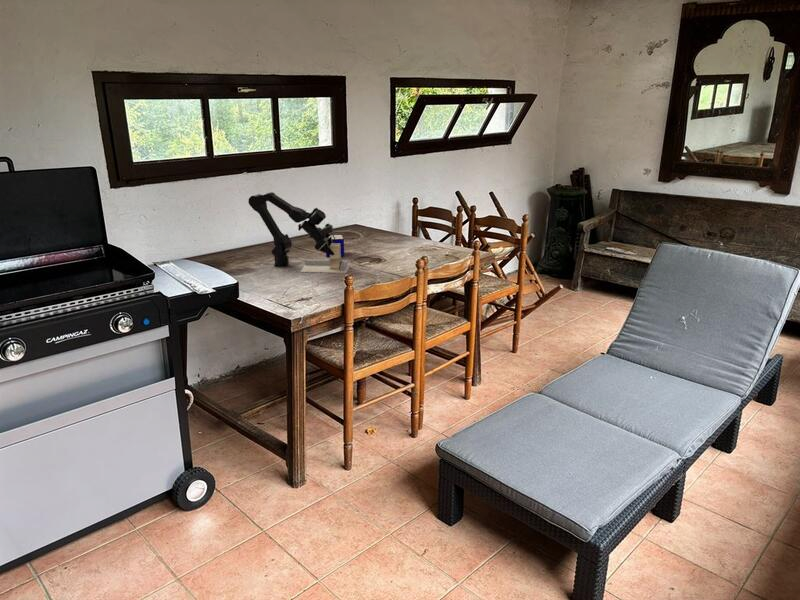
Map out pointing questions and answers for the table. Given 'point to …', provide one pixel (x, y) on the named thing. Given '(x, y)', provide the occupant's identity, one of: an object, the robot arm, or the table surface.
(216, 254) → the table surface
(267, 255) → the table surface
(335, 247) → the birch block
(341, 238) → the puzzle cube
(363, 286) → the table surface
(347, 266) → the tray
